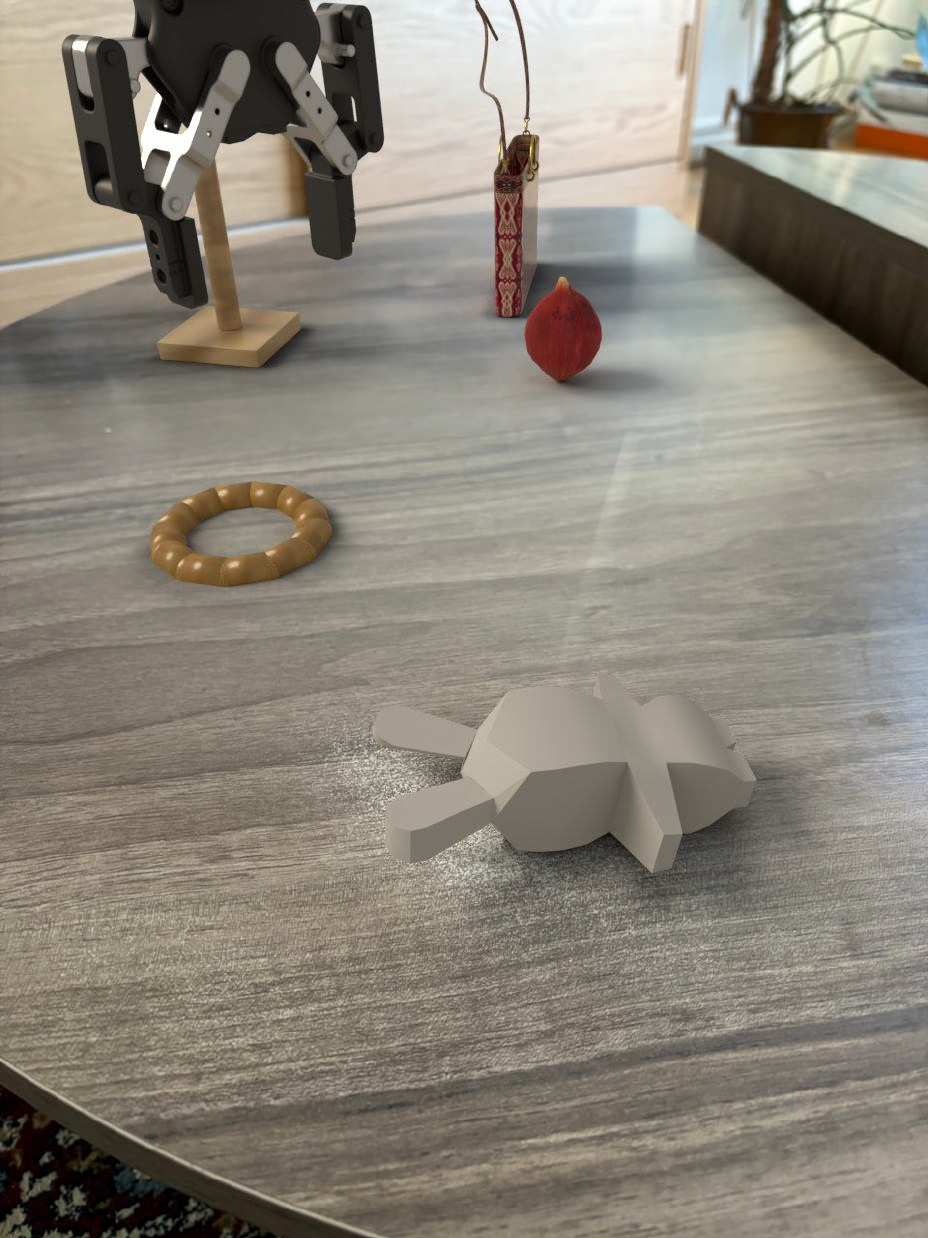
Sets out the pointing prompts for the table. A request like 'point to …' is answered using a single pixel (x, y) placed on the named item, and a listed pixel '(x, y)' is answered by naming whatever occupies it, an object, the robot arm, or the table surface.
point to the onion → (563, 332)
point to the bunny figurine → (569, 773)
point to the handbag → (514, 200)
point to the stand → (225, 302)
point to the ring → (245, 568)
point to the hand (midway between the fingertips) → (264, 278)
